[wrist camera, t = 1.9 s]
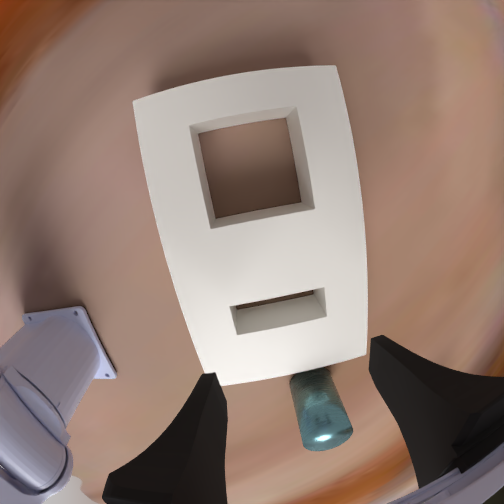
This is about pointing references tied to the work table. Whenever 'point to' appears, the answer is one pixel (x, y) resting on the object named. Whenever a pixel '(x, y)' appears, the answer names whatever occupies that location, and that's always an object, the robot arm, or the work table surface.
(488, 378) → the robot arm
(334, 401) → the teal cylinder
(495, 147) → the work table surface
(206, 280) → the bore block
